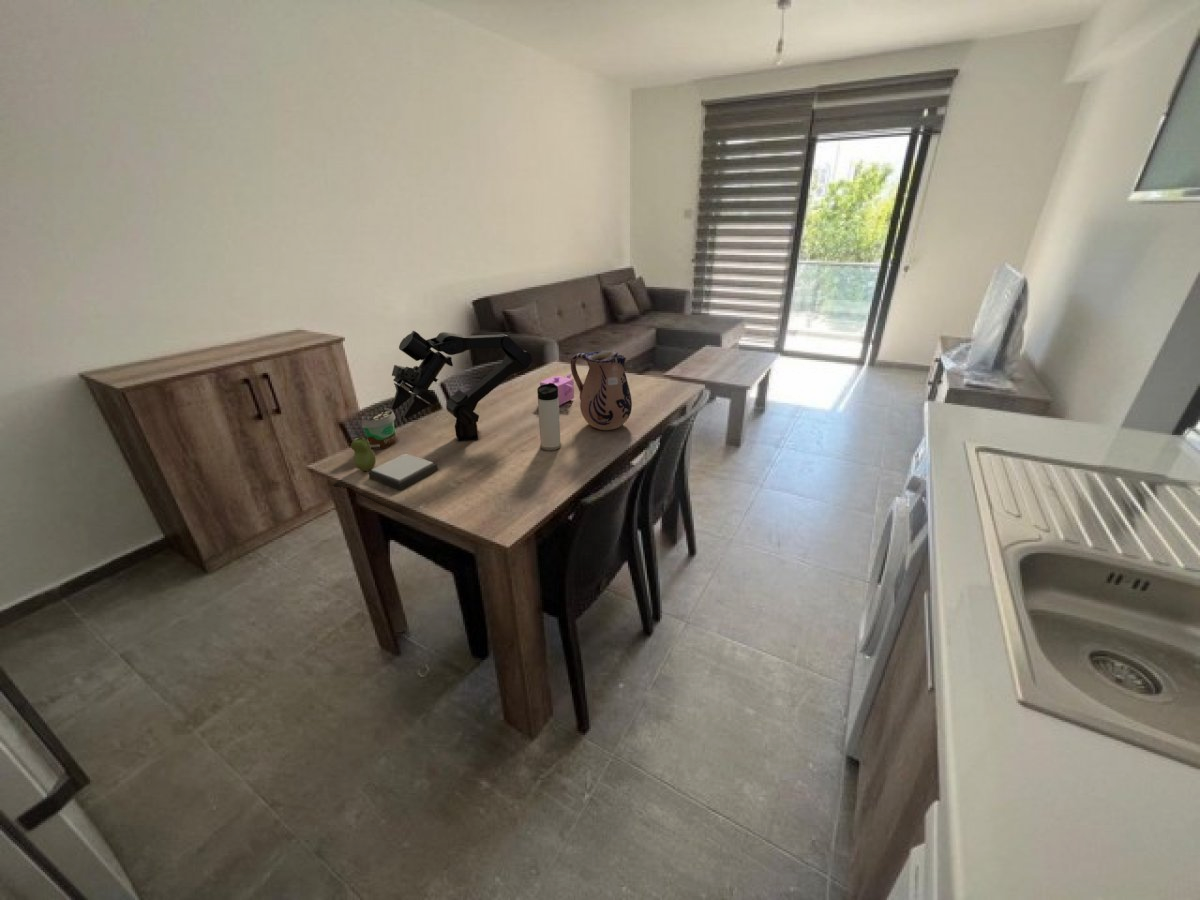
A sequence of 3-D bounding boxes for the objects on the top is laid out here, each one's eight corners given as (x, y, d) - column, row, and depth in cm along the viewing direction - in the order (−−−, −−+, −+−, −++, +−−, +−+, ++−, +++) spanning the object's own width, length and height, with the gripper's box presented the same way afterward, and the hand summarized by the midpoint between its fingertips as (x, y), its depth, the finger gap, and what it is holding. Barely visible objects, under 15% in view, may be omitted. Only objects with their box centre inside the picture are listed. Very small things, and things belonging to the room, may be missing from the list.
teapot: (559, 391, 198) (558, 367, 193) (587, 397, 191) (587, 373, 186) (531, 405, 184) (529, 379, 179) (560, 412, 177) (559, 386, 173)
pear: (380, 465, 141) (373, 434, 136) (371, 474, 136) (363, 442, 132) (362, 464, 141) (354, 434, 137) (352, 473, 137) (344, 442, 132)
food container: (385, 452, 148) (378, 423, 144) (368, 451, 149) (360, 421, 145) (407, 436, 159) (402, 408, 154) (391, 434, 160) (384, 407, 156)
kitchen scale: (407, 459, 144) (405, 451, 143) (437, 469, 138) (436, 461, 137) (369, 478, 134) (367, 470, 133) (400, 490, 128) (398, 481, 127)
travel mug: (564, 443, 154) (561, 383, 145) (555, 452, 148) (552, 390, 139) (546, 440, 156) (542, 381, 147) (537, 449, 150) (533, 388, 141)
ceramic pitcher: (628, 437, 157) (629, 363, 146) (565, 433, 161) (562, 360, 149) (633, 417, 173) (635, 348, 161) (577, 413, 176) (575, 346, 165)
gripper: (394, 348, 143) (363, 391, 141) (420, 361, 130) (387, 408, 129) (423, 368, 151) (395, 409, 149) (451, 382, 138) (420, 427, 137)
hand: (398, 413), depth 141 cm, fingers open, 9 cm apart
